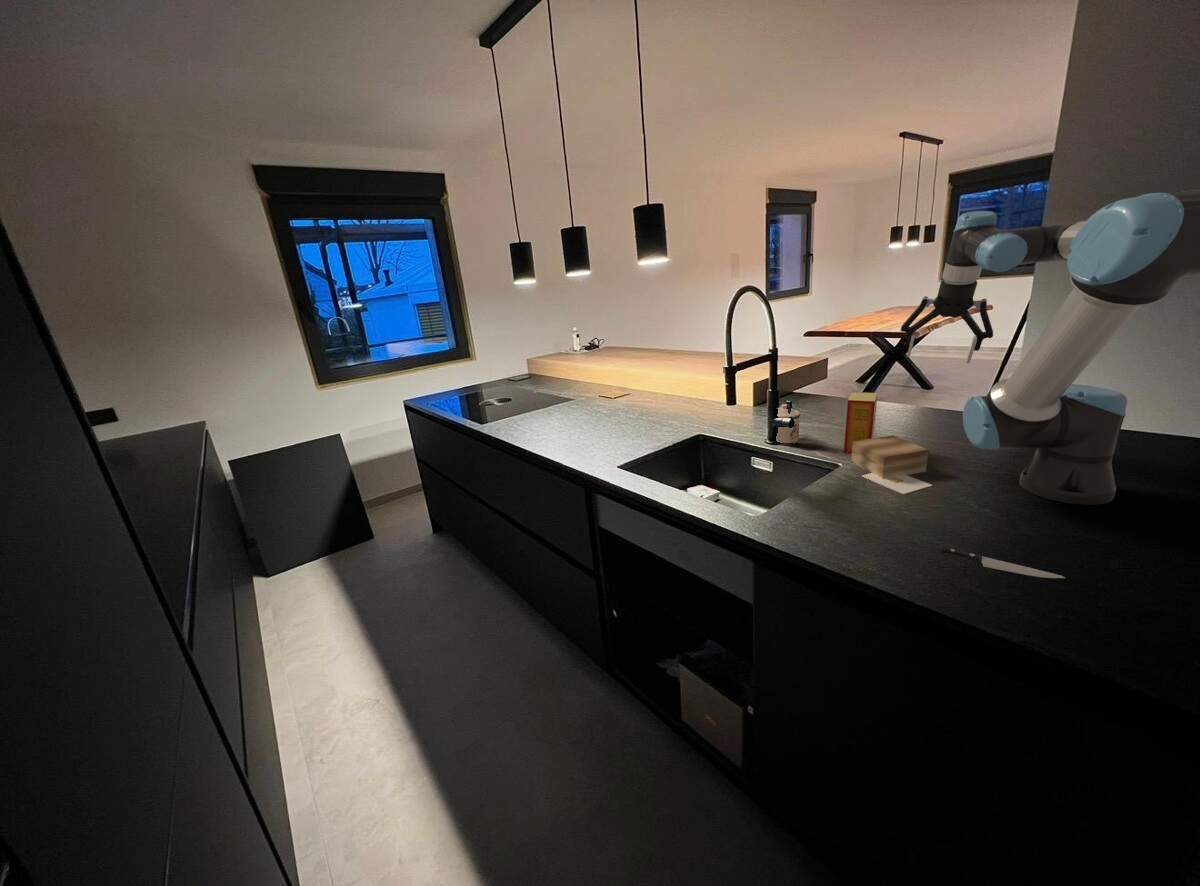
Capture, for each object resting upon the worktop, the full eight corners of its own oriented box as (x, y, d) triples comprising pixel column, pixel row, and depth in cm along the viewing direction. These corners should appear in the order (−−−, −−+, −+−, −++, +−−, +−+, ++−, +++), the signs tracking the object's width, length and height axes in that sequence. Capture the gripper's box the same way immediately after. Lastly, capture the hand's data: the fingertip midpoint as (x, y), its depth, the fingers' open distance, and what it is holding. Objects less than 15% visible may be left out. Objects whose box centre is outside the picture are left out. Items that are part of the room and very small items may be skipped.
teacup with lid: (796, 446, 144) (797, 409, 140) (765, 443, 149) (766, 407, 145) (803, 433, 153) (805, 399, 150) (774, 431, 158) (775, 397, 154)
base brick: (925, 471, 119) (928, 449, 117) (882, 479, 118) (884, 456, 116) (890, 455, 131) (893, 435, 129) (850, 462, 129) (852, 441, 127)
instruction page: (932, 485, 112) (932, 484, 112) (903, 494, 110) (903, 492, 110) (888, 469, 123) (888, 467, 123) (861, 476, 121) (861, 475, 121)
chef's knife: (1077, 591, 76) (1076, 581, 78) (1079, 586, 76) (1078, 575, 78) (934, 557, 88) (936, 548, 90) (934, 551, 87) (936, 543, 89)
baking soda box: (847, 442, 143) (851, 390, 138) (872, 444, 140) (877, 391, 134) (843, 453, 136) (847, 399, 131) (869, 455, 132) (875, 400, 127)
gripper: (1023, 276, 114) (994, 357, 126) (903, 274, 127) (887, 347, 139) (1024, 286, 109) (994, 369, 121) (900, 283, 122) (883, 358, 134)
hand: (937, 358), depth 130 cm, fingers open, 13 cm apart
